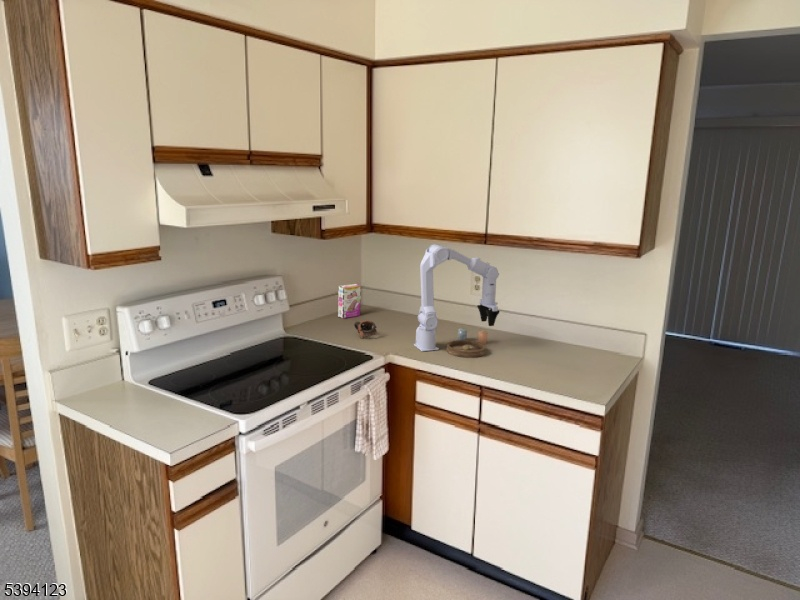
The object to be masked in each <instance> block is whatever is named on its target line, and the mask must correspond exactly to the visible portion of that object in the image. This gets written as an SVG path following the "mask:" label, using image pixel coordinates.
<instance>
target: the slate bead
mask: <svg viewBox="0 0 800 600" xmlns="http://www.w3.org/2000/svg"><path fill="white" fill-rule="evenodd" d="M457 340H468V329H467V328H464V327H463V328H462V327H461V328H458V329H457Z"/></svg>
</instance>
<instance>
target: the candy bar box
mask: <svg viewBox="0 0 800 600" xmlns="http://www.w3.org/2000/svg"><path fill="white" fill-rule="evenodd" d="M337 292H338V294H337V295H338V299H337V301H338V302H337V303H338V304H337V306H338V307H337V317H338V318H340V319H344V320H345V319H349V318H355V317H361V305H362V303H361V299H362V285H360V284H357V283H352V284H344V285H338V291H337Z"/></svg>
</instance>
